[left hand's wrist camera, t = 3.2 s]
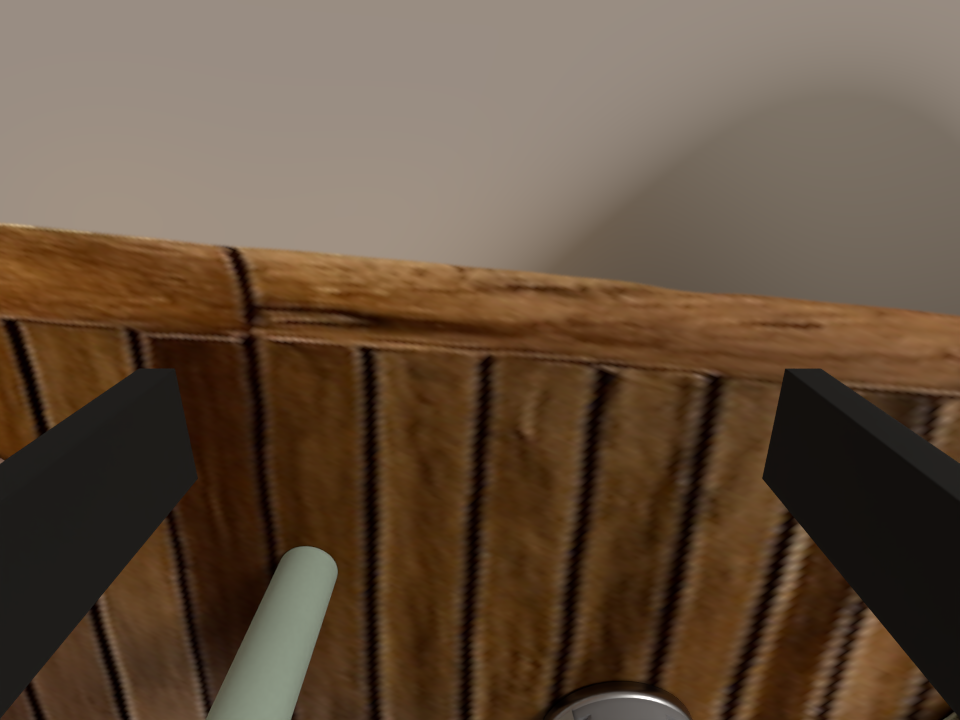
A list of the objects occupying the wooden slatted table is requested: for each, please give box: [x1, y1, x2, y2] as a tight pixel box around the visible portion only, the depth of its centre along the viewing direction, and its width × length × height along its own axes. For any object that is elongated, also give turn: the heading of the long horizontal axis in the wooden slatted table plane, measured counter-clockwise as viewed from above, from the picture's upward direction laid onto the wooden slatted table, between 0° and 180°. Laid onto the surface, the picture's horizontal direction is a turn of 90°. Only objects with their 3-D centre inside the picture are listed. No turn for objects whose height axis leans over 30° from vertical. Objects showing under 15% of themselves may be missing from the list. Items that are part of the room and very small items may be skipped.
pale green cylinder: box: [206, 546, 338, 720], centre depth 40 cm, size 5×5×20 cm
